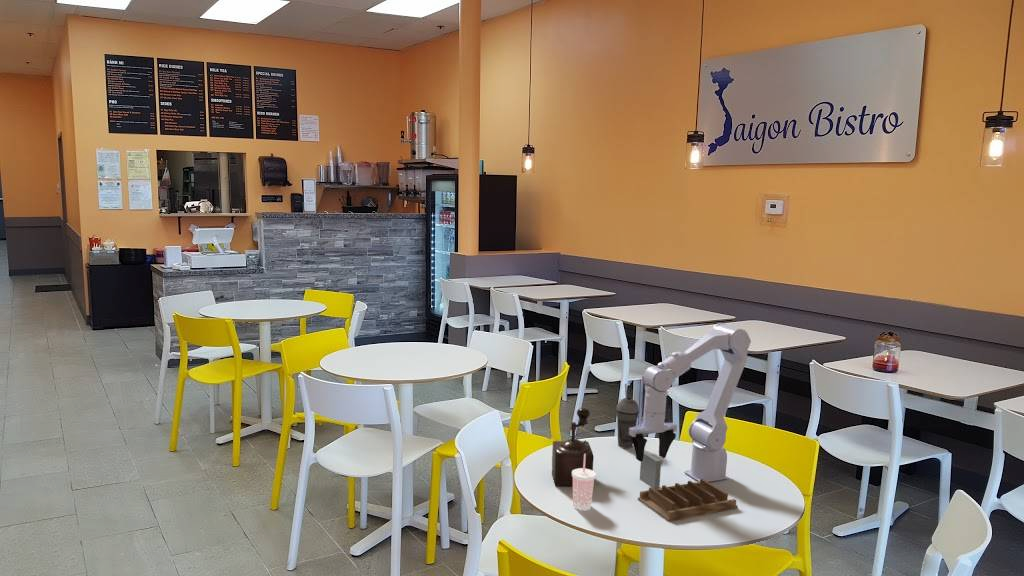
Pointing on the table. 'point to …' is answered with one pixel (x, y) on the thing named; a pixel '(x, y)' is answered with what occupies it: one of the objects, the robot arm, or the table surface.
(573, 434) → the coffee grinder
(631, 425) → the beverage cup
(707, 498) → the dish rack
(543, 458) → the table surface
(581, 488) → the beverage cup
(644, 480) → the grey upright slab
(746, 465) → the table surface
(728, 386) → the robot arm
